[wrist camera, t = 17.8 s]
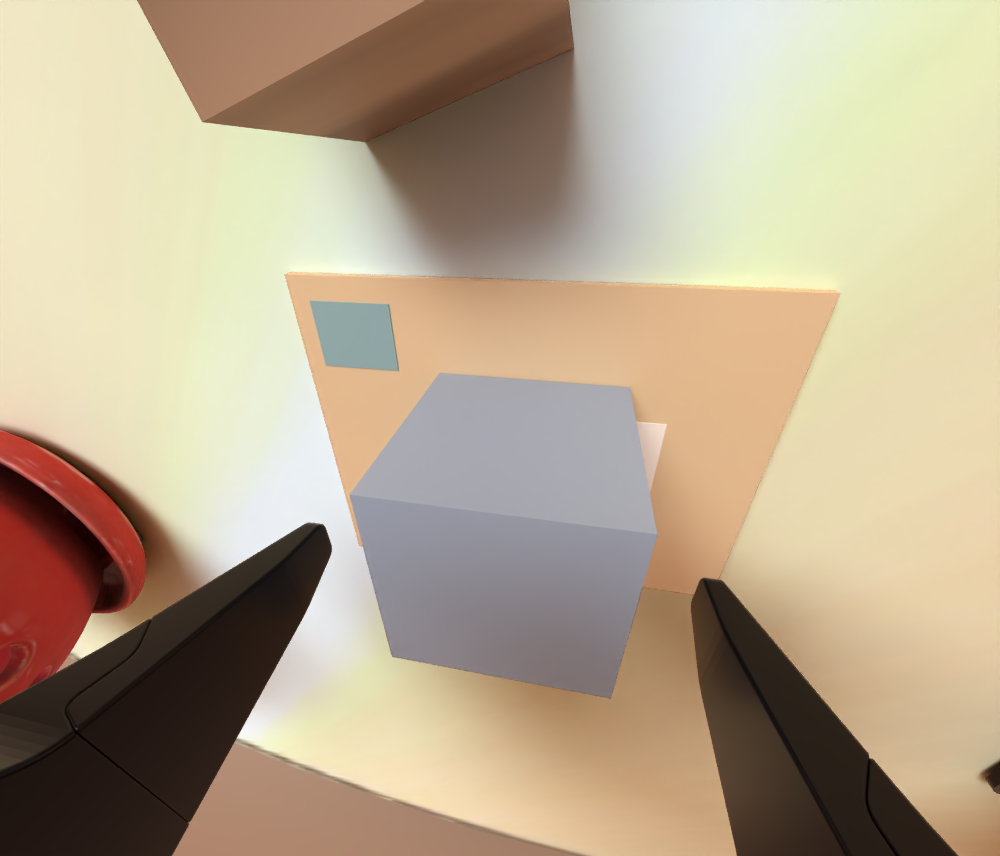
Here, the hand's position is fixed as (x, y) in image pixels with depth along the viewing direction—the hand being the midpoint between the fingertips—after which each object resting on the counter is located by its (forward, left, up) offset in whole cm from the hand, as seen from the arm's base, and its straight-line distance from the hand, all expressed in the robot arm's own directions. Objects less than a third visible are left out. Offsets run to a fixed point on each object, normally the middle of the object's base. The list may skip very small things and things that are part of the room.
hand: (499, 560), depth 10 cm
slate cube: (0, 0, -4) cm, 4 cm away
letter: (0, 0, -5) cm, 5 cm away
